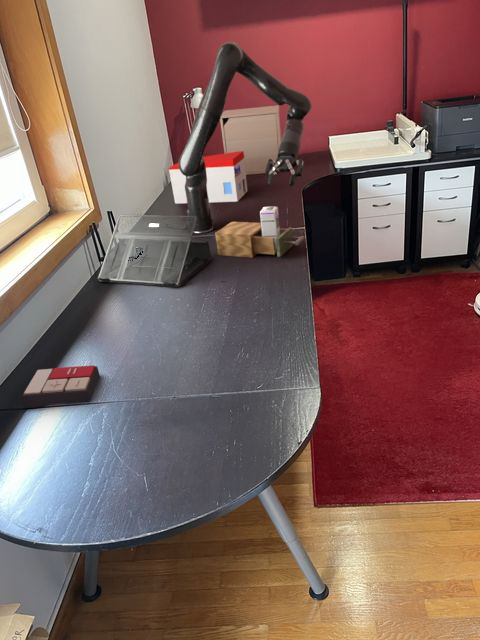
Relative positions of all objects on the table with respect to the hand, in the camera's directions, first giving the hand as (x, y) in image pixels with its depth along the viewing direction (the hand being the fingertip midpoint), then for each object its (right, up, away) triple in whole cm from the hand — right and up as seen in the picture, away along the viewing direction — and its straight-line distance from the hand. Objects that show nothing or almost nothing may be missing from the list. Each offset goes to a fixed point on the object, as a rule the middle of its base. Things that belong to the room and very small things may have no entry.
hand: (280, 185), depth 189 cm
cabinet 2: (-14, -23, +8) cm, 28 cm away
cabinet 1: (-11, +55, +137) cm, 148 cm away
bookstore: (-34, +21, +84) cm, 93 cm away
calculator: (-55, -72, -67) cm, 112 cm away
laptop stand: (-46, -33, -3) cm, 56 cm away
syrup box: (-3, -23, +2) cm, 23 cm away
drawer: (-1, -24, +1) cm, 24 cm away
